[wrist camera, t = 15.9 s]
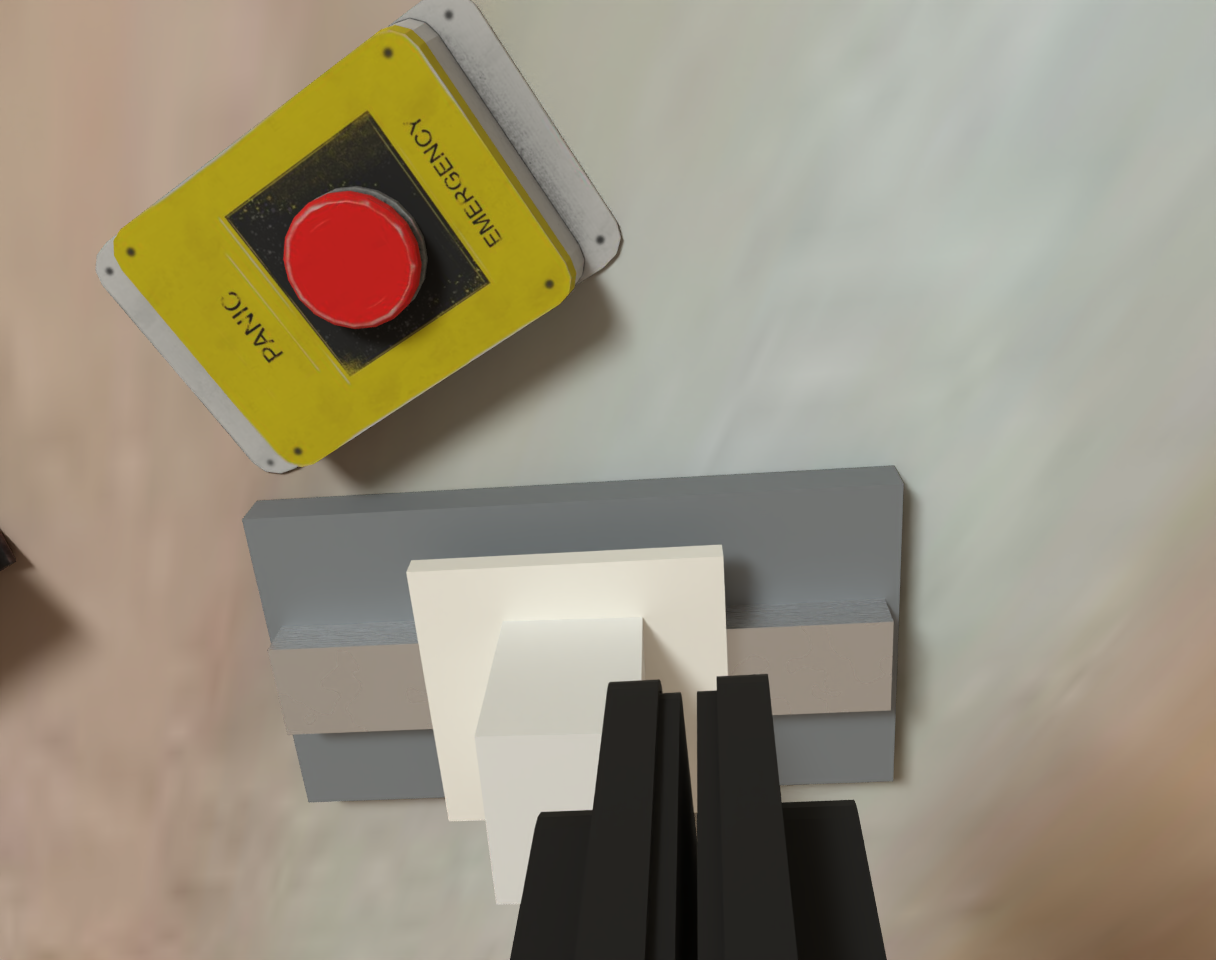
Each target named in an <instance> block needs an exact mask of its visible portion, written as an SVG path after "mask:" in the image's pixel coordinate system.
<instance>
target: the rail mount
mask: <svg viewBox="0 0 1216 960" xmlns="http://www.w3.org/2000/svg"><path fill="white" fill-rule="evenodd" d="M903 487H904V484H903V482H902V480H901V478H900V476H899V474H898V472H897V470H896V468H895V466H879V467H861V468H843V469H825V470H806V471H788V472H770V473H752V474H734V475H716V476H698V477H680V478H661V479H643V480H625V481H607V482H589V483H571V484H553V485H534V486H516V487H498V488H480V489H462V490H444V491H426V492H408V493H389V494H371V495H353V496H335V497H317V498H299V499H281V500H262V501H256V503H255V504H254V505H253V506H252V508H251V509H250V510H249V511H248V513H247V514H246V515H245V516H244V518H243V519H242V522H243V526H244V530H245V534H246V539H247V543H248V547H249V551H250V556H251V560H252V564H253V568H254V573H255V577H256V581H257V585H258V590H259V594H260V598H261V602H262V607H263V611H264V615H265V619H266V624H267V628H268V632H269V636H270V641H271V645H270V647H269V649H268V655H269V659H270V663H271V667H272V671H273V676H274V680H275V684H276V688H277V692H278V697H279V701H280V705H281V709H282V713H283V718H284V722H285V726H286V730H287V735H293V738H294V742H295V747H296V751H297V755H298V759H299V764H300V768H301V772H302V776H303V781H304V785H305V789H306V793H307V798H308V802H331V801H358V800H386V799H413V798H441V797H445V795H444V789H443V784H442V778H441V772H440V766H439V760H438V754H437V749H436V743H435V737H434V731H433V725H432V720H431V714H430V708H429V702H428V696H427V690H426V685H425V679H424V673H423V667H422V661H421V656H420V650H419V644H418V638H417V632H416V627H415V621H414V615H413V609H412V603H411V597H410V592H409V586H408V580H407V574H406V571H407V569H408V567H409V565H410V562H411V560H428V559H447V558H467V557H487V556H506V555H526V554H546V553H565V552H585V551H605V550H624V549H644V548H663V547H683V546H703V545H722V550H723V560H724V586H725V612H726V637H727V663H728V676H734V675H753V674H768V678H769V687H770V697H771V706H772V716H773V726H774V735H775V745H776V754H777V764H778V773H779V783H780V785H800V784H828V783H855V782H883V781H893V772H894V743H895V715H896V686H897V658H898V629H899V601H900V572H901V544H902V516H903Z"/></svg>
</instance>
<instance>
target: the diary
mask: <svg viewBox="0 0 1216 960" xmlns="http://www.w3.org/2000/svg"><path fill="white" fill-rule="evenodd" d="M14 562H16V559H15V557H14V555H13V553H12V551H11V549H10V548H9V546H8V544H7V542H6V540H5V538H4V536H3V535H2V534H1V533H0V571H1V570H3V569H4V568H6V567H7V566H9V565H11V564H12V563H14Z"/></svg>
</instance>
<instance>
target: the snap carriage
mask: <svg viewBox="0 0 1216 960" xmlns="http://www.w3.org/2000/svg"><path fill="white" fill-rule="evenodd" d="M406 574H407V580H408V586H409V592H410V597H411V603H412V609H413V615H414V621H415V627H416V632H417V638H418V644H419V650H420V656H421V661H422V667H423V673H424V679H425V685H426V690H427V696H428V702H429V708H430V714H431V720H432V725H433V731H434V737H435V743H436V749H437V754H438V760H439V766H440V772H441V778H442V784H443V789H444V795H445V801H446V807H447V813H448V818H449V821H472V820H485V813H484V806H483V798H482V790H481V782H480V775H479V767H478V759H477V752H476V744H475V733H476V729H477V725H478V720H479V716H480V712H481V708H482V704H483V700H484V696H485V692H486V688H487V684H488V679H489V675H490V671H491V667H492V663H493V659H494V655H495V651H496V647H497V642H498V638H499V634H500V630H501V626H502V622H503V621H526V620H560V619H594V618H628V617H642V618H643V637H644V657H645V677H646V680H657V679H660V681H661V685H662V691H663V693H674V692H681V695H682V702H683V711H684V721H685V730H686V740H687V749H688V759H689V769H690V778H691V788H692V798H693V807H694V813H697V691H714V690H717V680H716V678H717V676H728V663H727V637H726V612H725V586H724V560H723V550H722V545H703V546H683V547H663V548H644V549H624V550H605V551H585V552H565V553H546V554H526V555H506V556H487V557H467V558H447V559H428V560H411V562H410V565H409V567H408V569H407V571H406Z"/></svg>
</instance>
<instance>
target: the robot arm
mask: <svg viewBox="0 0 1216 960" xmlns="http://www.w3.org/2000/svg"><path fill="white" fill-rule="evenodd" d="M716 680H717V690H714V691H697V836H696V826H695V817H694V807H693V798H692V788H691V778H690V769H689V759H688V749H687V740H686V730H685V721H684V711H683V702H682V695H681V692H674V693H663V691H662V685H661V681H660V679H657V680H637V681H618V682H609V684H608V688H607V695H606V703H605V711H604V719H603V728H602V736H601V744H600V752H599V761H598V769H597V777H596V785H595V794H594V802H593V810H577V811H551V812H541V813H540V814H539V816H538V817H537V821H536V825H535V829H534V834H533V839H532V845H531V850H530V855H529V861H528V866H527V871H526V877H525V882H524V888H523V893H522V898H521V904H520V909H519V914H518V920H517V925H516V931H515V936H514V941H513V947H512V952H511V958H510V960H887V959H886V954H885V949H884V943H883V938H882V933H881V928H880V923H879V918H878V913H877V907H876V902H875V897H874V892H873V887H872V882H871V876H870V871H869V866H868V861H867V856H866V851H865V846H864V840H863V835H862V830H861V825H860V820H859V815H858V811H857V806H856V803H855V801H854V800H837V801H811V802H785V803H782V802H781V793H780V783H779V773H778V764H777V754H776V745H775V735H774V726H773V716H772V706H771V697H770V687H769V678H768V674H753V675H734V676H717V678H716Z"/></svg>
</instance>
